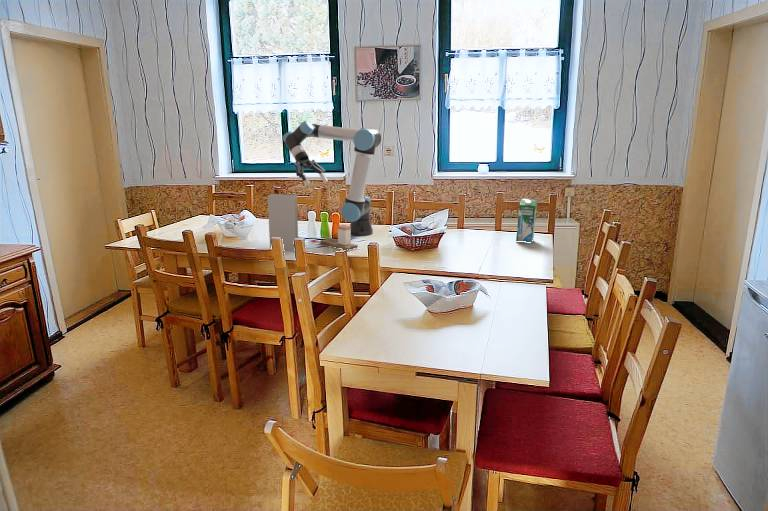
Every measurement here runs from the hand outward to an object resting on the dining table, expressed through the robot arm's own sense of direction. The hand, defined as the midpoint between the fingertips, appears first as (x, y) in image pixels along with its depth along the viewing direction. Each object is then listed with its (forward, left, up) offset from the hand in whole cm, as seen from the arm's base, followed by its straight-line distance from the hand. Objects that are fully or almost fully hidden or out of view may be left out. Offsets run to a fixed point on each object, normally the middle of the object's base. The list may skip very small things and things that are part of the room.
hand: (317, 183), depth 293 cm
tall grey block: (+30, +6, -33) cm, 45 cm away
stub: (+4, +26, -30) cm, 40 cm away
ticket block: (+4, +21, -33) cm, 39 cm away
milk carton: (-82, +92, -33) cm, 127 cm away
